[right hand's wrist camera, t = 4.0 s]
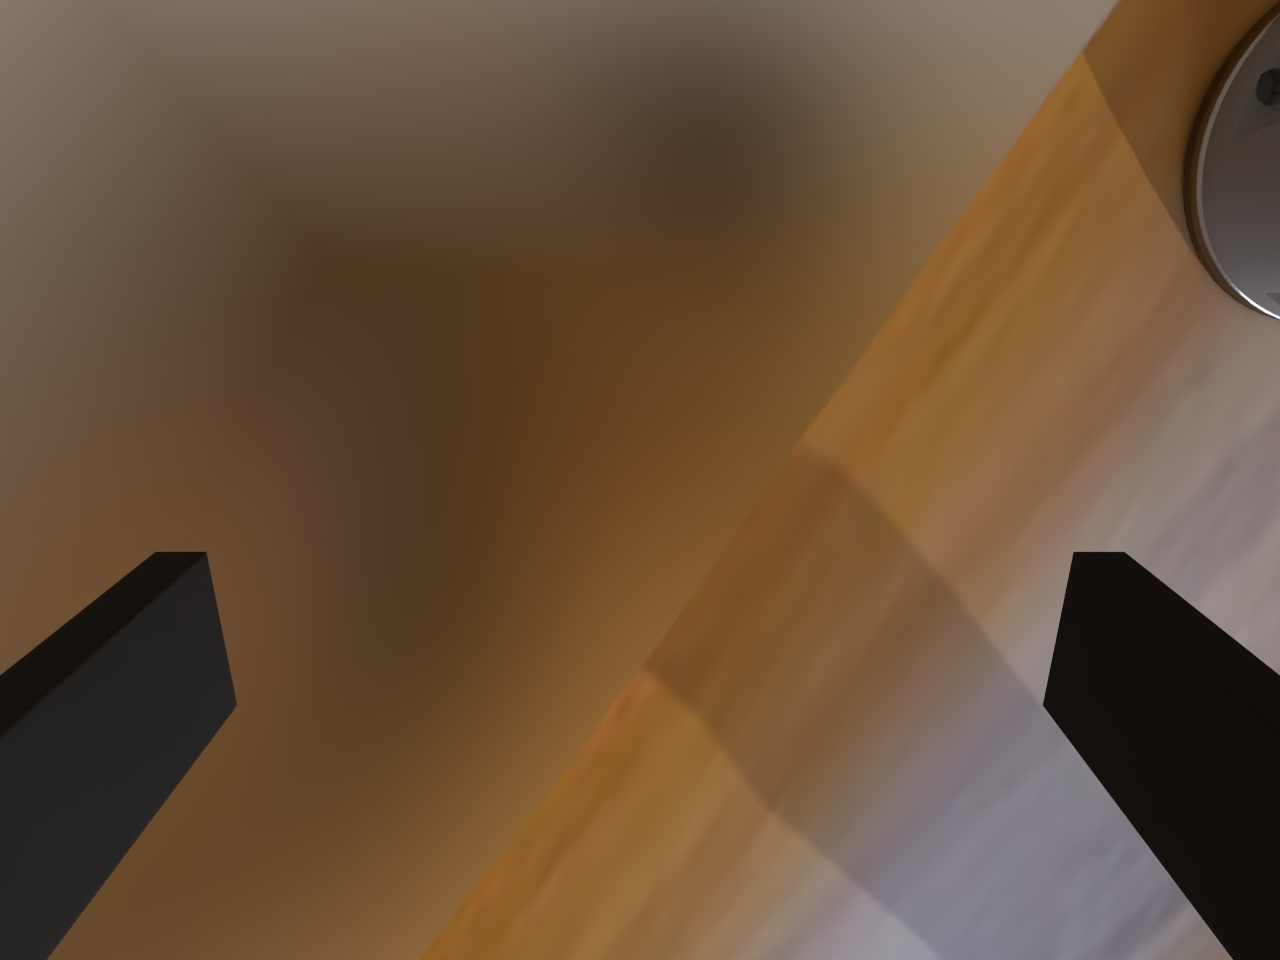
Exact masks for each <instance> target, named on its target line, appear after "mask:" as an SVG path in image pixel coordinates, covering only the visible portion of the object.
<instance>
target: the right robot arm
mask: <svg viewBox="0 0 1280 960" xmlns="http://www.w3.org/2000/svg"><path fill="white" fill-rule="evenodd" d="M1183 196H1184V210H1185V216H1186V221H1187V227H1188V230H1189V234H1190V237H1191V240H1192V243H1193V245H1194V248H1195V250H1196V253H1197V255H1198V257H1199V259H1200V260H1201V262H1202V264H1203V266H1204V267H1205V269H1206V270H1207V272H1208V273H1209V274H1210V276H1211V277H1212V278H1213V280H1214V281H1215V282H1216V283H1217V284H1218V285H1219V286H1220V287H1221V288H1222V289H1223V290H1224V291H1225V292H1226V293H1227V294H1228V295H1230V296H1231V297H1232V298H1233V299H1234V300H1236V301H1237V302H1239V303H1241V304H1242V305H1244V306H1245V307H1247V308H1249V309H1251V310H1253V311H1255V312H1257V313H1259V314H1262V315H1265V316H1268V317H1271V318H1274V319H1277V320H1280V2H1279V3H1278V4H1276V5H1275V6H1274V7H1273V8H1272V9H1271V10H1270V11H1269V12H1267V13H1266V14H1265V15H1264V16H1263V17H1262V18H1261V19H1260V20H1259V21H1258V22H1257V23H1256V24H1255V25H1254V27H1253V28H1252V29H1251V30H1250V31H1249V32H1248V33H1247V34H1246V35H1245V37H1244V38H1243V39H1242V40H1241V41H1240V43H1239V44H1238V45H1237V46H1236V48H1235V49H1234V50H1233V52H1232V53H1231V55H1230V56H1229V57H1228V59H1227V60H1226V62H1225V63H1224V65H1223V66H1222V68H1221V69H1220V71H1219V73H1218V74H1217V76H1216V78H1215V79H1214V81H1213V83H1212V85H1211V87H1210V89H1209V91H1208V93H1207V95H1206V97H1205V99H1204V101H1203V103H1202V106H1201V108H1200V111H1199V113H1198V116H1197V118H1196V121H1195V124H1194V127H1193V131H1192V134H1191V137H1190V141H1189V146H1188V150H1187V155H1186V161H1185V169H1184V185H1183ZM236 706H237V702H236V697H235V693H234V687H233V682H232V677H231V673H230V668H229V663H228V658H227V653H226V648H225V643H224V638H223V633H222V628H221V623H220V618H219V613H218V608H217V603H216V598H215V593H214V588H213V583H212V578H211V573H210V568H209V563H208V558H207V553H206V552H155V553H154V554H152V555H151V556H150V557H149V558H147V559H146V560H145V561H144V562H142V563H141V564H140V565H139V566H137V567H136V568H135V569H134V570H132V571H131V572H130V573H129V574H127V575H126V576H125V577H124V578H122V579H121V580H120V581H118V582H117V583H116V584H115V585H113V586H112V587H111V588H110V589H108V590H107V591H106V592H105V593H103V594H102V595H101V596H100V597H98V598H97V599H96V600H95V601H93V602H92V603H91V604H90V605H88V606H87V607H86V608H85V609H83V610H82V611H81V612H79V613H78V614H77V615H76V616H74V617H73V618H72V619H71V620H69V621H68V622H67V623H66V624H64V625H63V626H62V627H61V628H59V629H58V630H57V631H56V632H54V633H53V634H52V635H51V636H49V637H48V638H47V639H45V640H44V641H43V642H42V643H40V644H39V645H38V646H37V647H35V648H34V649H33V650H32V651H30V652H29V653H28V654H27V655H25V656H24V657H23V658H22V659H20V660H19V661H18V662H17V663H15V664H14V665H13V666H12V667H10V668H9V669H8V670H6V671H5V672H4V673H3V674H1V675H0V960H47V959H48V957H49V956H50V955H51V953H52V952H53V951H54V949H55V948H56V947H57V945H58V944H59V943H60V941H61V940H62V939H63V937H64V936H65V935H66V933H67V932H68V931H69V929H70V928H71V927H72V925H73V924H74V923H75V921H76V920H77V919H78V917H79V916H80V915H81V913H82V912H83V911H84V909H85V908H86V907H87V905H88V904H89V903H90V901H91V900H92V899H93V897H94V896H95V895H96V893H97V892H98V890H99V889H100V888H101V887H102V885H103V884H104V883H105V881H106V880H107V878H108V877H109V876H110V874H111V873H112V872H113V870H114V869H115V868H116V866H117V865H118V864H119V862H120V861H121V860H122V858H123V857H124V856H125V854H126V853H127V852H128V850H129V849H130V848H131V846H132V845H133V844H134V842H135V841H136V840H137V838H138V837H139V836H140V834H141V833H142V832H143V830H144V829H145V828H146V826H147V825H148V824H149V822H150V821H151V820H152V818H153V817H154V816H155V814H156V813H157V812H158V810H159V809H160V808H161V806H162V805H163V804H164V802H165V801H166V800H167V798H168V797H169V796H170V794H171V793H172V792H173V790H174V789H175V788H176V786H177V785H178V784H179V782H180V781H181V780H182V778H183V777H184V776H185V774H186V773H187V772H188V770H189V769H190V768H191V766H192V765H193V764H194V762H195V761H196V760H197V758H198V757H199V756H200V754H201V753H202V752H203V750H204V749H205V748H206V746H207V745H208V743H209V742H210V741H211V739H212V738H213V737H214V736H215V734H216V733H217V731H218V730H219V729H220V727H221V726H222V725H223V723H224V722H225V721H226V719H227V718H228V717H229V716H230V714H231V713H232V711H233V710H234V709H235V707H236ZM1043 706H1044V708H1045V709H1046V710H1047V712H1048V713H1049V714H1050V716H1051V717H1052V718H1053V720H1054V721H1055V722H1056V724H1057V725H1058V726H1059V728H1060V729H1061V730H1062V732H1063V733H1064V734H1065V736H1066V737H1067V738H1068V740H1069V741H1070V742H1071V744H1072V745H1073V746H1074V748H1075V749H1076V750H1077V752H1078V753H1079V754H1080V756H1081V757H1082V758H1083V760H1084V761H1085V762H1086V764H1087V765H1088V766H1089V768H1090V769H1091V770H1092V772H1093V773H1094V774H1095V776H1096V777H1097V778H1098V780H1099V781H1100V782H1101V784H1102V785H1103V786H1104V788H1105V789H1106V790H1107V792H1108V793H1109V794H1110V796H1111V797H1112V798H1113V800H1114V801H1115V802H1116V804H1117V805H1118V806H1119V808H1120V809H1121V810H1122V812H1123V813H1124V814H1125V816H1126V817H1127V818H1128V820H1129V821H1130V822H1131V824H1132V825H1133V826H1134V828H1135V829H1136V830H1137V832H1138V833H1139V834H1140V836H1141V837H1142V838H1143V840H1144V841H1145V842H1146V844H1147V845H1148V846H1149V848H1150V849H1151V850H1152V852H1153V853H1154V854H1155V856H1156V857H1157V858H1158V860H1159V861H1160V862H1161V864H1162V865H1163V866H1164V868H1165V869H1166V870H1167V872H1168V873H1169V874H1170V876H1171V877H1172V878H1173V880H1174V881H1175V883H1176V884H1177V885H1178V887H1179V888H1180V889H1181V891H1182V892H1183V893H1184V895H1185V896H1186V897H1187V899H1188V900H1189V901H1190V903H1191V904H1192V905H1193V907H1194V908H1195V909H1196V911H1197V912H1198V913H1199V915H1200V916H1201V917H1202V919H1203V920H1204V921H1205V923H1206V924H1207V925H1208V927H1209V928H1210V929H1211V931H1212V932H1213V933H1214V935H1215V936H1216V937H1217V939H1218V940H1219V941H1220V943H1221V944H1222V945H1223V947H1224V948H1225V949H1226V951H1227V952H1228V953H1229V955H1230V956H1231V957H1232V959H1233V960H1280V675H1279V674H1277V673H1276V672H1275V671H1274V670H1272V669H1271V668H1270V667H1268V666H1267V665H1266V664H1265V663H1263V662H1262V661H1261V660H1260V659H1258V658H1257V657H1256V656H1255V655H1253V654H1252V653H1251V652H1250V651H1248V650H1247V649H1246V648H1245V647H1243V646H1242V645H1241V644H1240V643H1238V642H1237V641H1236V640H1235V639H1233V638H1232V637H1231V636H1229V635H1228V634H1227V633H1226V632H1224V631H1223V630H1222V629H1221V628H1219V627H1218V626H1217V625H1216V624H1214V623H1213V622H1212V621H1211V620H1209V619H1208V618H1207V617H1206V616H1204V615H1203V614H1202V613H1201V612H1199V611H1198V610H1197V609H1195V608H1194V607H1193V606H1192V605H1190V604H1189V603H1188V602H1187V601H1185V600H1184V599H1183V598H1182V597H1180V596H1179V595H1178V594H1177V593H1175V592H1174V591H1173V590H1172V589H1170V588H1169V587H1168V586H1167V585H1165V584H1164V583H1163V582H1162V581H1160V580H1159V579H1158V578H1156V577H1155V576H1154V575H1153V574H1151V573H1150V572H1149V571H1148V570H1146V569H1145V568H1144V567H1143V566H1141V565H1140V564H1139V563H1138V562H1136V561H1135V560H1134V559H1133V558H1131V557H1130V556H1129V555H1128V554H1126V553H1125V552H1074V553H1073V558H1072V563H1071V568H1070V573H1069V578H1068V583H1067V588H1066V593H1065V598H1064V603H1063V608H1062V613H1061V618H1060V623H1059V628H1058V633H1057V638H1056V643H1055V648H1054V653H1053V658H1052V663H1051V667H1050V672H1049V677H1048V682H1047V687H1046V692H1045V697H1044V702H1043Z"/></svg>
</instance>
